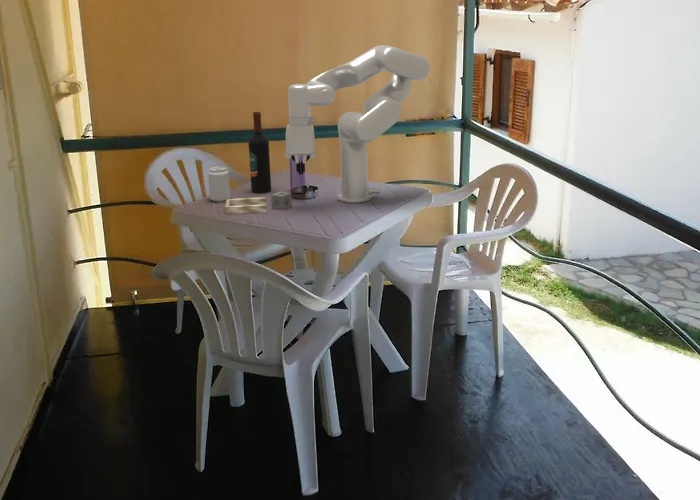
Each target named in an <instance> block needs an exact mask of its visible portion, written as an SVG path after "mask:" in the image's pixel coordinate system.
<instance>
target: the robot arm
mask: <svg viewBox="0 0 700 500" xmlns="http://www.w3.org/2000/svg"><path fill="white" fill-rule="evenodd" d="M430 70H431V65H430V62H429V60H428V59H427V58H426V57H424V56H423V55H420V54H416V53H414V52H411V51H407V50H404V49H401V48H398V47H396V46H390V45H383V44H380V45H376V46H373V47H372V48H371V49H369V50H367V51H365V52H363V53H362V54H361V55H360V54H359V56H357V57H355V58H353V59H352V60H350V61H348V62H346V63H344V64H341V65H339V66H337V67H334V68H331V69H329V70H327V71H325V72H322V73H321V74H319V75H317V76H315V77H314V78H312V79H310V80H309V81H307V83H306V84H305V83H295V84H294V83H293V84H290V85H289V86H288V88H287V89H288V90H287V93H288V95H287V97H288V99H287V100H288V124H287V125H286V128H285V142H284V144H285V153H284V157H285V158H287V159H289V158H291V159H293V160H294V161H295V162H296V172H298V174H299V175H300V174H302V175H303V172H305V173H306V163H307V161H309V160H310V159H312V158H315V157H317V155H316V138H315V137H316V136H315V129H314V128H315V127H314V125H313V124H312V123H314V122H316V117H312V106H316V107H317V106H318V107H327V106H329V105H331V104H332V103H333V102H334V100H335V99H336V92H335V91H338V90H339V89H341V90H342V89H343V88H353V87H356V86H360V85H361V84H364V83H365V82H366V81H369V79H370V80H371V78H373V77H374V76H377V75H378V74H380V73H381V72H383V71H384V72H387V73H392V74H391V77H390V80H389V82H387V83H386V84H385V85H384V86H383V87H382V88H381V89H378V91H376V92H374V94H373V95H371V96H370V97H368V98H367V99H366V100H365V102H364V103H363V105H362V106H363V107H362V110H363V111H362V112H363V113H361V112H358V111H353V110H351V111H347V112H345V113H343V114H342V115H341V116H340V117H339V119H338V123H337V133H338V138H339V143H340V144H339V145H340V146H339V147H340V176H341V177H340V182H341V185H340V186H341V187H340V188H341V191H340V192H341V193H339V194H337V196H336V197H337V198H336V199H337V200H338V201H339V202H342V203H349V204H351V203H353V204H354V203H355V204H359V203H364V202H369V201H371V200H372V198H373V195H372V194H376V195H377V194H381V188H380V187H379V188H378V187H376V186H375V187H370V186H369V185H368V148H367V147H368V146H367V143H371V142H373V141H374V140H375V139H377V138H379V137H380V136H381V135H383V133H385V132H387V130H389V129H390V128H392V127H393V126H394V125H395V124H396V123H397V122H398V121H399V119H400V117H401V114H402V106H401V104H402V103H403V102H405V101H406V99H407V98H408V96H409V95H410V93H411V89H412V81H417V82H418V81H419V82H420V81H422V80H424V79H426V77H428V75H429V74H430V72H431V71H430ZM298 155H303V157H302V161H301V164H300V161H299V158H298Z"/></svg>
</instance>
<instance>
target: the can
mask: <svg viewBox="0 0 700 500" xmlns="http://www.w3.org/2000/svg"><path fill="white" fill-rule="evenodd" d="M207 178H208V188H209V191H208V192H209V199H210V200H211V201H212V200H213V202H215V201H216V202H218V203H221V202H226V199H231V186H230V185H231V184H230V172H229V170H228V167H226V166H219V165H218V166H213V167H210V168H209V170H208V172H207ZM216 202H215V203H216Z"/></svg>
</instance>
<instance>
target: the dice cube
mask: <svg viewBox="0 0 700 500" xmlns="http://www.w3.org/2000/svg"><path fill="white" fill-rule="evenodd" d="M270 201H271V204H270V205H271V209H275V210H280V211H284V210H287V209H289V208H292V192H285V191H277V192H275V193H272V194H270Z"/></svg>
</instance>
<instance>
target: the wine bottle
mask: <svg viewBox="0 0 700 500" xmlns="http://www.w3.org/2000/svg"><path fill="white" fill-rule="evenodd" d="M252 117H253V119H252V120H253V132H254V133H253V135H252V136H251V137H250V138H249V140H248V141H247V142H248V153H249V154H248V156H249V157H248V160H249V174H250V189H251V190H250V191H251V193H253V194H268V193H270V192H272V181H271V180H272V179H271V162H270V161H271V160H270V157H271V156H270V145H269V143H270V142H269V139H268V137H266V136H265V135H264V134H263V132H262V131H263V130H262V129H263V128H262V113H261V111H253V113H252Z"/></svg>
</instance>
